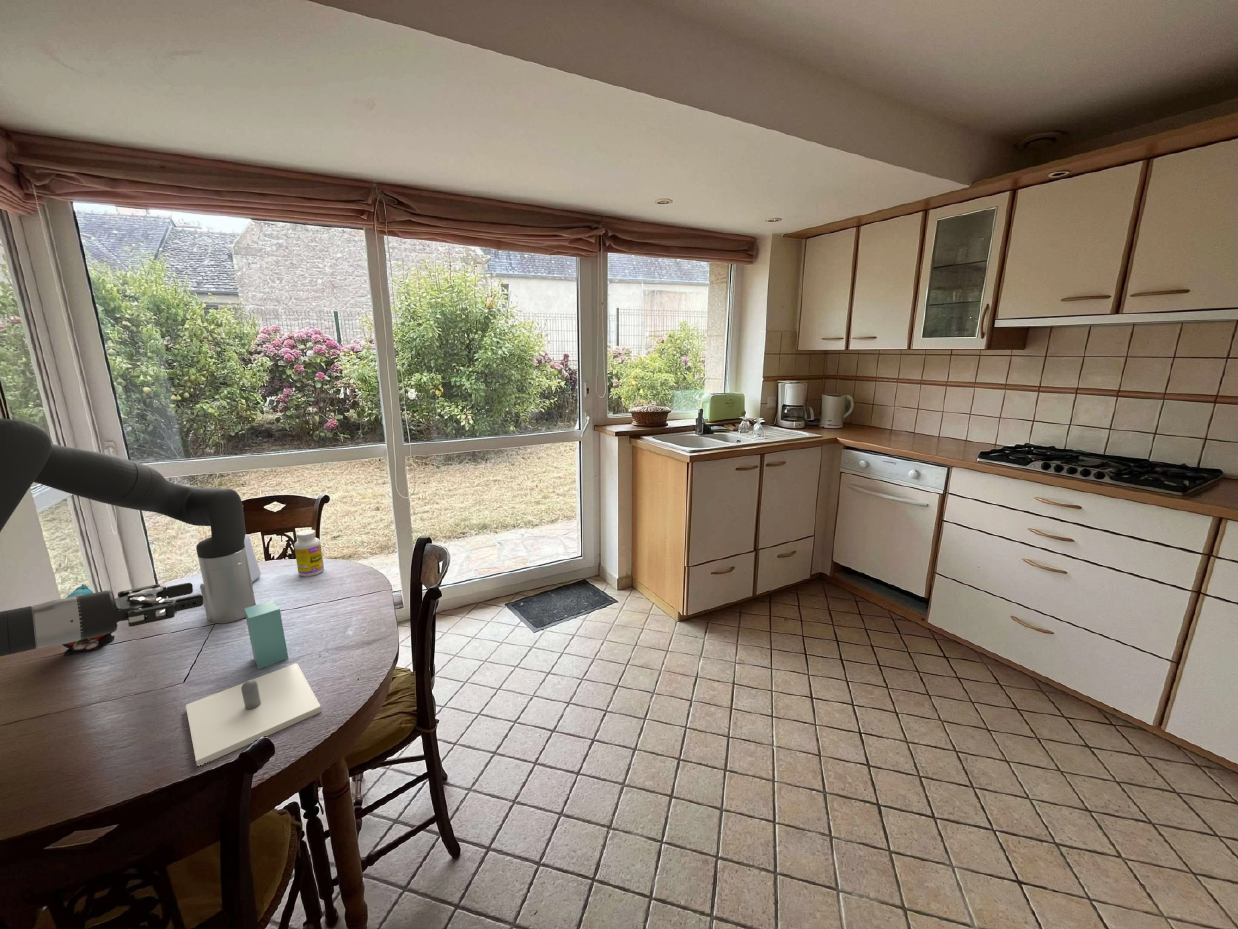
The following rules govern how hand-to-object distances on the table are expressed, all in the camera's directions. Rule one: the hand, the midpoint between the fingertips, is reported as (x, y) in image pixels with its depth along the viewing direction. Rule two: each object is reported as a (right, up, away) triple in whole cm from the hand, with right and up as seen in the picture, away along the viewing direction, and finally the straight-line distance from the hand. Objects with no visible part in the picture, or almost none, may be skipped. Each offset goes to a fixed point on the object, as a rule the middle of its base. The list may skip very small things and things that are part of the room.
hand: (197, 593), depth 97 cm
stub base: (+14, -21, -4) cm, 26 cm away
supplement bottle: (-10, -7, +52) cm, 54 cm away
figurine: (-36, -16, +15) cm, 43 cm away
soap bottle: (-27, -9, +47) cm, 55 cm away
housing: (+6, -17, +11) cm, 22 cm away
